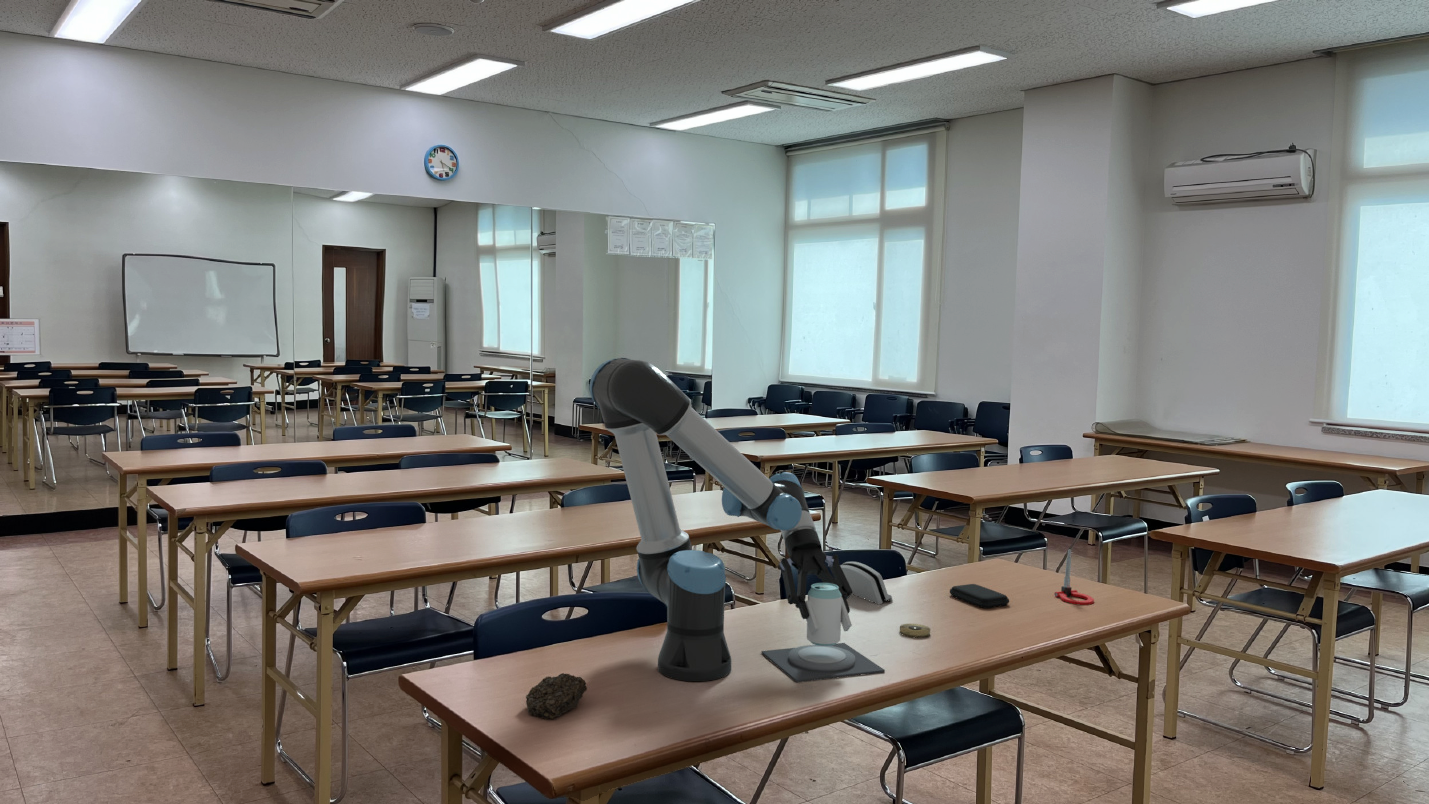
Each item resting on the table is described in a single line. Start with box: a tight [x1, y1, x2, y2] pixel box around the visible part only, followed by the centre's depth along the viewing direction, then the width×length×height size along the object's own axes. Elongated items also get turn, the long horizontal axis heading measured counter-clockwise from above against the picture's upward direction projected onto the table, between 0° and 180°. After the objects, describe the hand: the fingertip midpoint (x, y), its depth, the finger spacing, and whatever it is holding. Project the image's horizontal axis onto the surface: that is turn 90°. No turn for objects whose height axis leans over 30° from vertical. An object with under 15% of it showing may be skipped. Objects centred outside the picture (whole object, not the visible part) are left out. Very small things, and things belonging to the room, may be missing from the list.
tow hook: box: [1053, 549, 1095, 606], centre depth 261 cm, size 8×13×9 cm
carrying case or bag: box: [949, 583, 1010, 609], centre depth 259 cm, size 11×3×15 cm
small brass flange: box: [899, 623, 931, 639], centre depth 230 cm, size 7×7×1 cm
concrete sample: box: [525, 672, 588, 720], centre depth 181 cm, size 12×10×5 cm
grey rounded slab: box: [840, 561, 894, 605], centre depth 260 cm, size 17×5×10 cm, turn 32°
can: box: [806, 582, 842, 646], centre depth 208 cm, size 7×7×12 cm
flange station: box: [760, 642, 886, 683], centre depth 208 cm, size 20×18×2 cm
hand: (831, 629), depth 205 cm, fingers closed on can, 7 cm apart
